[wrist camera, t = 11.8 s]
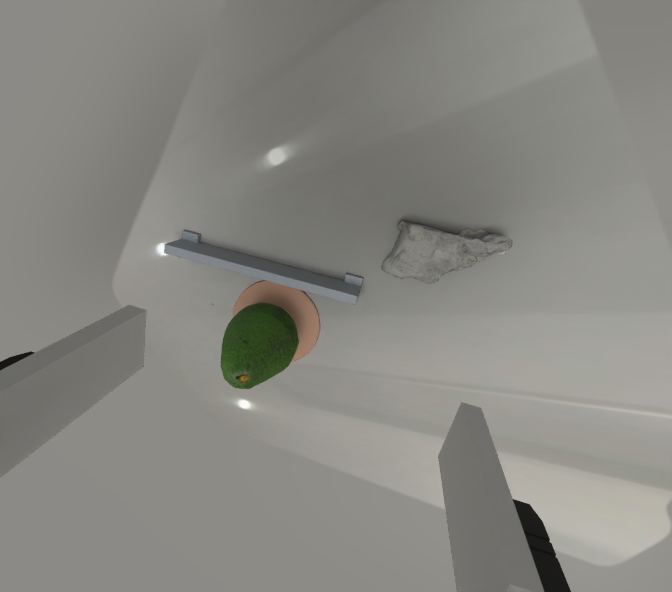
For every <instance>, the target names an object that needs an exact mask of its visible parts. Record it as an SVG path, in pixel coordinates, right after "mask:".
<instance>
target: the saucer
mask: <svg viewBox="0 0 672 592" xmlns="http://www.w3.org/2000/svg"><path fill="white" fill-rule="evenodd" d="M257 303H270V304H273V305H276V306H278V307H281V308H282V309H284V310H285V311H286V312H287V313H288V314H289V315H290V316H291V317H292V319H293V320H294V322H295V324H296V327H297V333H298V339H299V344H298V347H297V350H296V353H295V355H294V357H293V359H292V361H296V360H298V359H300V358H302V357H304V356H305V355H306V354H307V353H309V351H310V350H311V349H312V348H313V346H314V345H315V343H316V341H317V339H318V335H319V331H320V320H319V315H318V312H317V309H316V307H315V305H314V303H313V302H312V300H311V299H310V298H309V297H308V295H307V294H306V293H305V292H303V291H302V290H299V289H295V288H291V287H288V286H284V285H280V284H277V283H273V282H269V281H266V280H265V281H261V282H258V283H255V284H253V285H252V286H250V287H249V288H247V289H246V290H245V291H244V292H243V293H242V294H241V296H240V297H239V299H238V300H237V303H236V305H235V309H234V316H235V315H236V314H237V313H238V312H239V311H240V310H242V309H243V308H245V307H247V306H249V305H253V304H257ZM292 361H291V362H292Z"/></svg>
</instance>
